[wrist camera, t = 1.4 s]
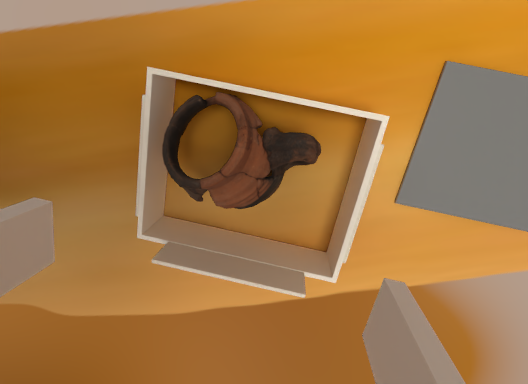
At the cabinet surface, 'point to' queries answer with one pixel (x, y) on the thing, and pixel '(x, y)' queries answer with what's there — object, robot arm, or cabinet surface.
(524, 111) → the slate mat
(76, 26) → the cabinet surface
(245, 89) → the carton
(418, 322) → the robot arm
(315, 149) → the pottery mug
